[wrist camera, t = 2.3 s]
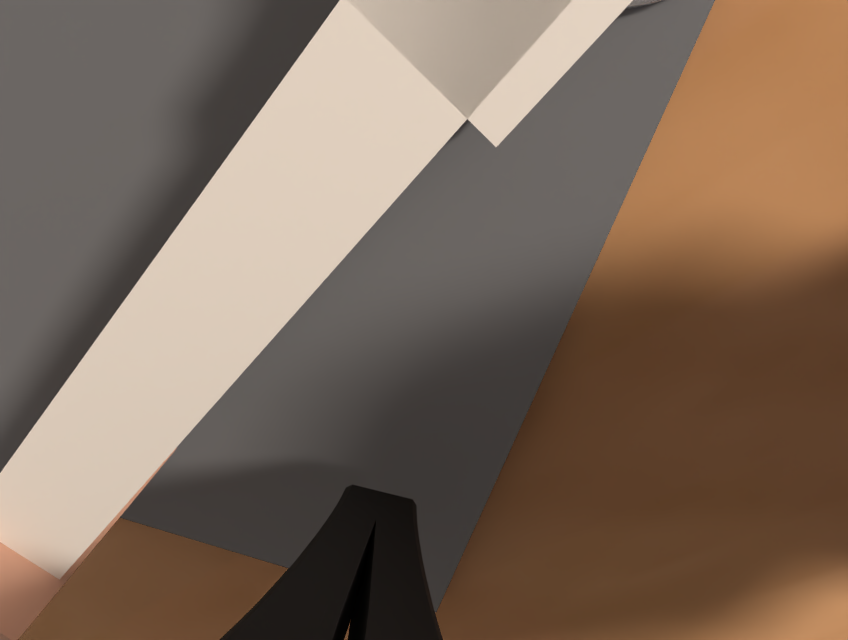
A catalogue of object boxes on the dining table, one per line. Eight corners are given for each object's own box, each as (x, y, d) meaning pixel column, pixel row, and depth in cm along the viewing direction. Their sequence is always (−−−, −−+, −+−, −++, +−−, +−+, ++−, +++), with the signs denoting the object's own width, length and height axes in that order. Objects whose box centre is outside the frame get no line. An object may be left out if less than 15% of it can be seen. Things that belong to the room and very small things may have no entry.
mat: (1030, -721, 6) (1066, -773, 6) (437, 598, 14) (436, 612, 14) (-799, -1463, 5) (-895, -1580, 5) (-304, 376, 14) (-325, 384, 13)
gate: (487, -142, 7) (500, -421, 3) (607, -7, 8) (747, -105, 4) (53, 438, 12) (-168, 622, 8) (146, 502, 13) (-16, 708, 8)
